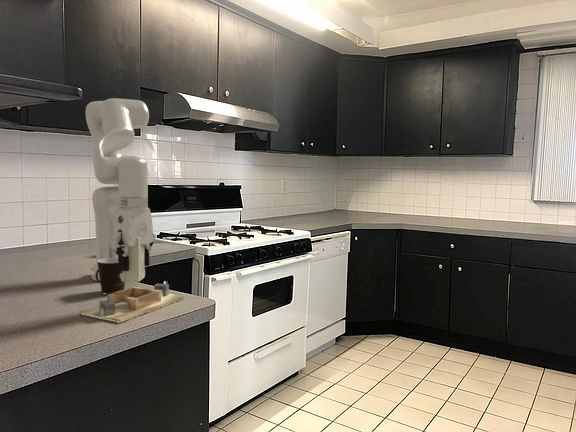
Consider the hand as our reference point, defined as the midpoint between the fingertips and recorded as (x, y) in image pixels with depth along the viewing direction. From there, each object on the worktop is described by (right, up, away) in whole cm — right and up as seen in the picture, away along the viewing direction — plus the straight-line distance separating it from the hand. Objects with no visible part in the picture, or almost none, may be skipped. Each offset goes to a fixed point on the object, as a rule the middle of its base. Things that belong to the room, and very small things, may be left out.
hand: (134, 267), depth 130 cm
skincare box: (0, -4, 0) cm, 4 cm away
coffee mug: (-13, -10, +15) cm, 22 cm away
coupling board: (0, -11, +1) cm, 11 cm away
